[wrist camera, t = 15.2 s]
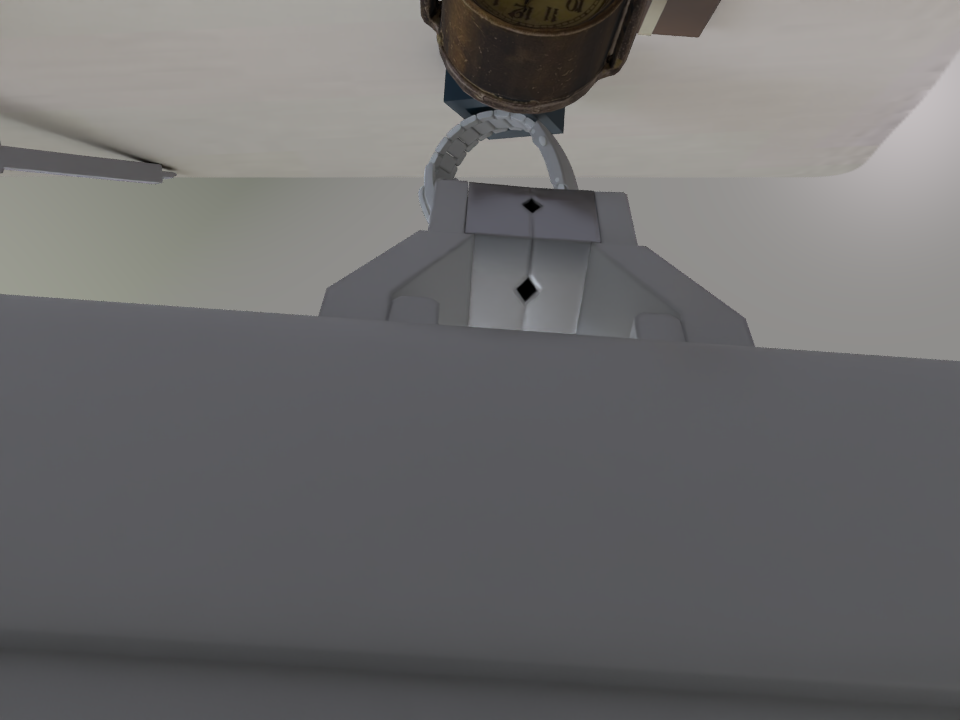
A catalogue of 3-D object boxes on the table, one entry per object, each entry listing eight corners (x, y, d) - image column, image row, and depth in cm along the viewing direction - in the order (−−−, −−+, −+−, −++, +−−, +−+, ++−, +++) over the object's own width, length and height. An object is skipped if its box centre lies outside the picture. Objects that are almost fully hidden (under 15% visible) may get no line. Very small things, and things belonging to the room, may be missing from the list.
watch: (413, 45, 42) (396, 260, 41) (565, 23, 39) (550, 257, 38) (461, 88, 47) (447, 281, 47) (599, 73, 44) (586, 280, 43)
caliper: (-121, 77, 52) (-133, 177, 51) (-113, 74, 51) (-126, 175, 51) (169, 171, 68) (162, 247, 68) (178, 169, 68) (170, 246, 67)
